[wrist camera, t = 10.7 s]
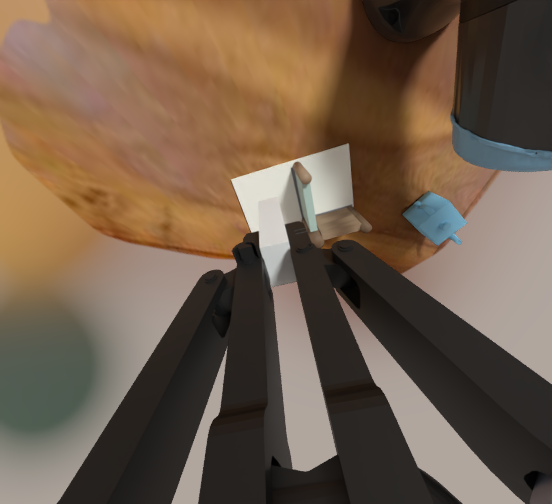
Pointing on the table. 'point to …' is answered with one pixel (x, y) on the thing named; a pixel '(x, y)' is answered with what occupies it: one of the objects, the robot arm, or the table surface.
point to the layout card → (282, 183)
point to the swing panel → (305, 195)
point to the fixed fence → (337, 225)
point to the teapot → (435, 218)
